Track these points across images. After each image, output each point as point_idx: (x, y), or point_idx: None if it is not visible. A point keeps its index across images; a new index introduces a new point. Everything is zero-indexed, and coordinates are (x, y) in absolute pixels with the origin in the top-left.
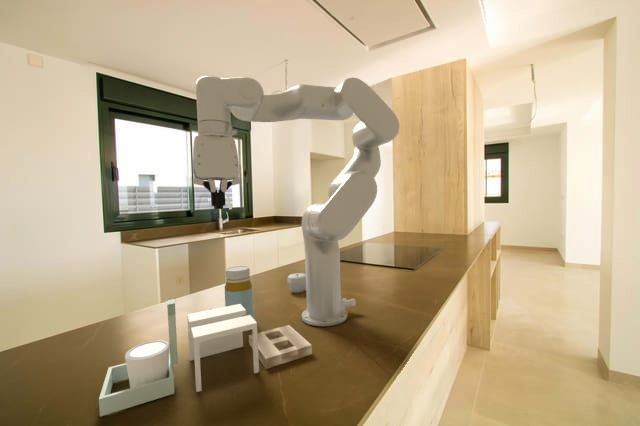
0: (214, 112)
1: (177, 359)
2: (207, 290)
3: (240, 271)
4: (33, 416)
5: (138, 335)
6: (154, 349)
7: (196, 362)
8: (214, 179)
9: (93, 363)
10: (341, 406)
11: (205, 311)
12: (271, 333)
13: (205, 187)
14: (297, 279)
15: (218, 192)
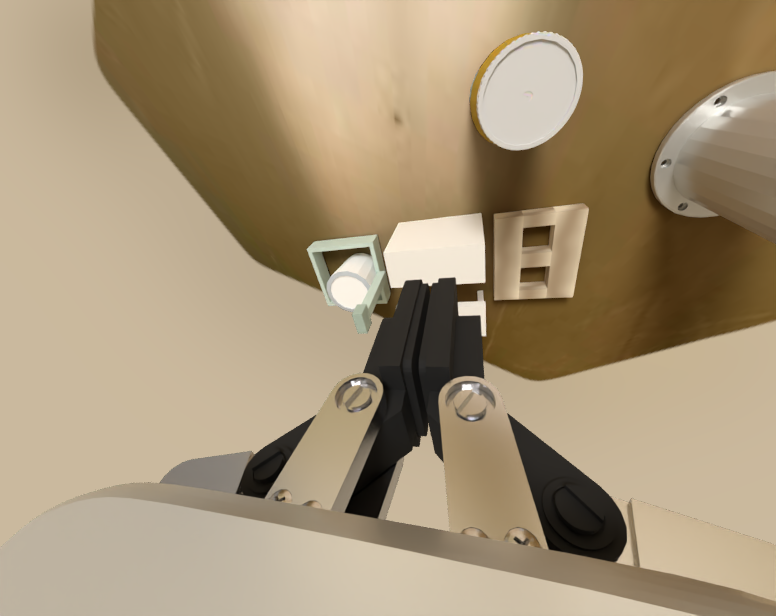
0: None
1: (385, 281)
2: None
3: (524, 148)
4: (274, 267)
5: (281, 62)
6: (357, 296)
7: None
8: (341, 537)
9: (264, 172)
10: (533, 368)
11: (414, 254)
12: (537, 226)
13: (296, 438)
14: None
15: (429, 394)
